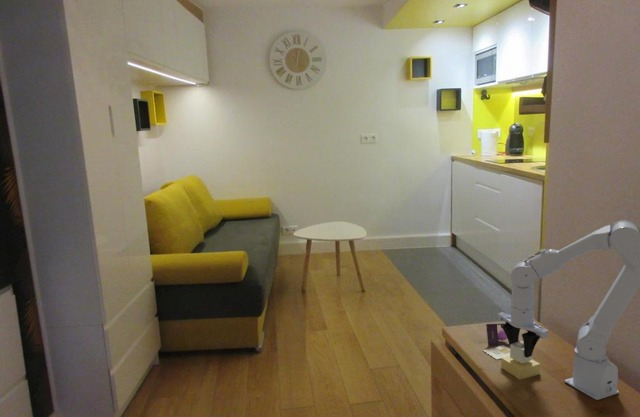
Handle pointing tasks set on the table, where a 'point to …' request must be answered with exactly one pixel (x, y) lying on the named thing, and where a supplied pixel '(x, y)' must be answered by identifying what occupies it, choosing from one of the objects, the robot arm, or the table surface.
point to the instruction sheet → (498, 352)
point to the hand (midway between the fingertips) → (520, 352)
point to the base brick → (520, 367)
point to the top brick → (518, 352)
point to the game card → (495, 335)
